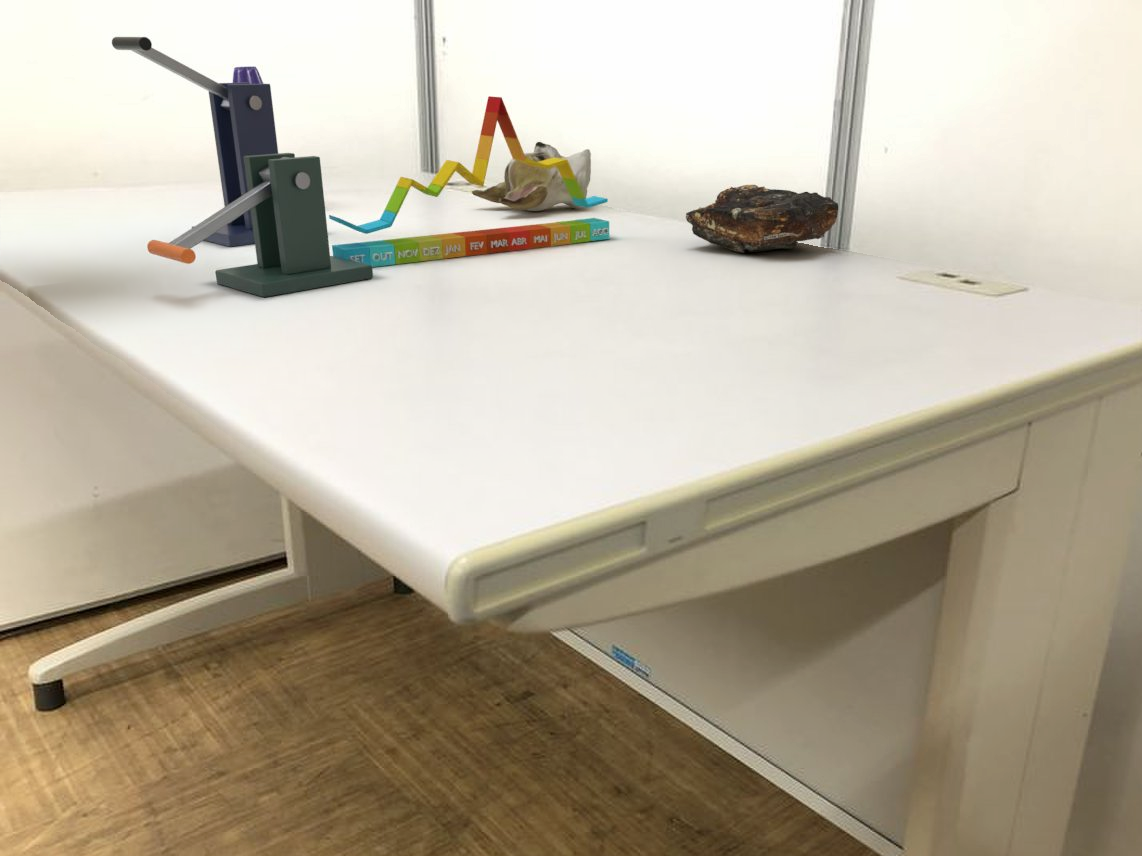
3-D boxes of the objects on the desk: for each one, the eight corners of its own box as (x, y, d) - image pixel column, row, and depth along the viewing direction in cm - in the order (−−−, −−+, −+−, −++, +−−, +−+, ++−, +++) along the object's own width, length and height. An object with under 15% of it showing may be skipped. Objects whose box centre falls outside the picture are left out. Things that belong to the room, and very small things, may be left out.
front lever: (190, 273, 85) (174, 247, 83) (156, 263, 89) (139, 238, 87) (321, 185, 92) (308, 159, 90) (284, 179, 95) (271, 154, 94)
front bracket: (264, 297, 89) (246, 164, 85) (216, 283, 94) (198, 157, 90) (373, 278, 97) (362, 155, 93) (324, 266, 102) (312, 149, 97)
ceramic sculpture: (608, 139, 132) (496, 151, 125) (612, 210, 135) (503, 225, 129) (570, 133, 141) (464, 145, 134) (575, 200, 144) (472, 214, 138)
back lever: (135, 52, 100) (143, 28, 100) (108, 51, 104) (115, 28, 104) (263, 120, 111) (271, 98, 111) (234, 117, 115) (241, 96, 115)
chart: (346, 270, 100) (330, 102, 94) (334, 265, 102) (316, 100, 96) (610, 239, 117) (610, 95, 111) (594, 235, 119) (593, 93, 113)
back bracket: (230, 246, 111) (207, 85, 105) (193, 237, 116) (169, 83, 110) (322, 234, 118) (306, 83, 112) (283, 226, 123) (266, 81, 117)
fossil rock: (855, 245, 114) (859, 189, 112) (791, 264, 104) (794, 203, 102) (746, 232, 122) (748, 180, 120) (676, 250, 112) (677, 193, 110)
